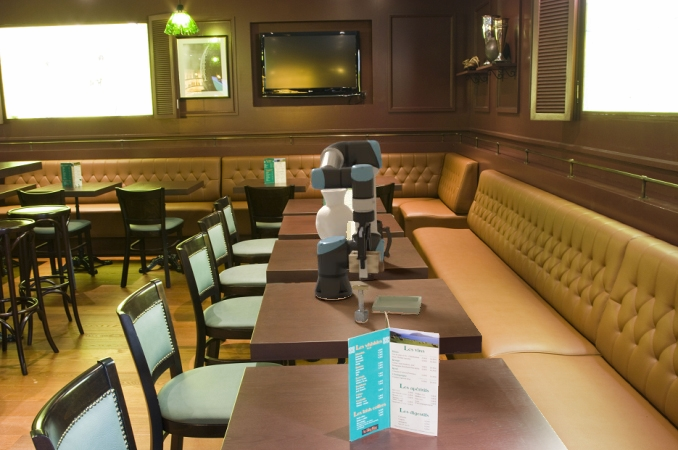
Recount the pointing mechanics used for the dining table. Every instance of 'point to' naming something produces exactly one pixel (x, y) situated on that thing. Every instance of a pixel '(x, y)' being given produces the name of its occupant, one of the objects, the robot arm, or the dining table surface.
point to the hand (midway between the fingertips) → (365, 274)
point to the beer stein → (389, 238)
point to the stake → (361, 303)
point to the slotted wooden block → (372, 262)
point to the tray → (397, 304)
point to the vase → (333, 214)
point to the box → (370, 277)
